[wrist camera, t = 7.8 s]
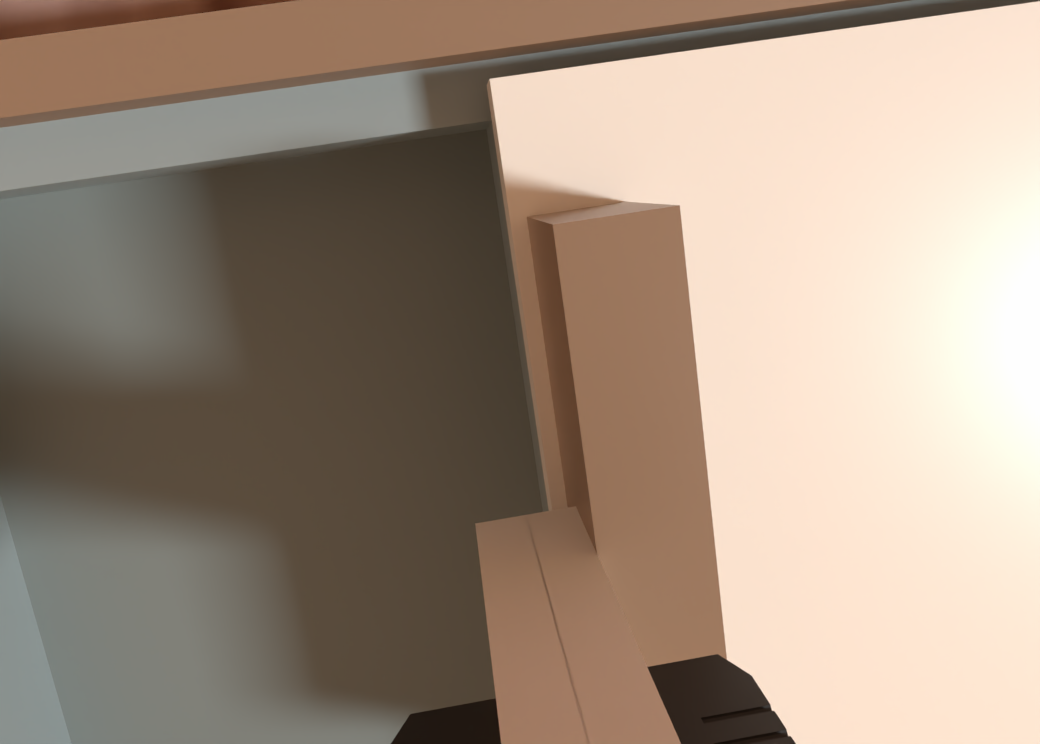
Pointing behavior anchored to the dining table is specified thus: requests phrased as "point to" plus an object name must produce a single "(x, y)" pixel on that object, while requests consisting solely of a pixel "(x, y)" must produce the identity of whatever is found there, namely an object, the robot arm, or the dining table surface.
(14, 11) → the dining table surface
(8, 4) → the dining table surface
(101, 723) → the sliding lid box
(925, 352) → the slide cover
